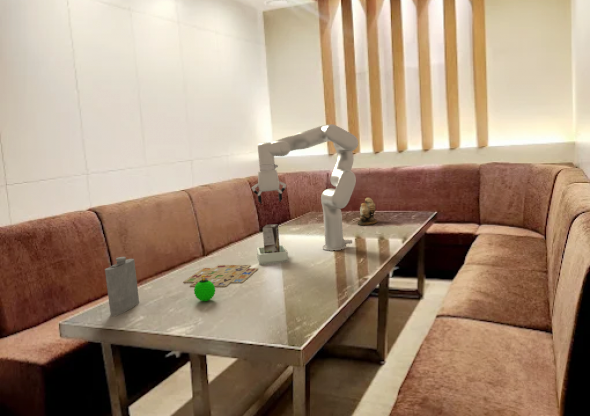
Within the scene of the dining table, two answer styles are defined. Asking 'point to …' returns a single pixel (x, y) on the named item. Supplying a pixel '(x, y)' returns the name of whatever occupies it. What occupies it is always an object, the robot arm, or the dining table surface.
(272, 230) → the coffee box
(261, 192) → the robot arm
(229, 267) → the alphabet tiles
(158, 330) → the dining table surface
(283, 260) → the bin
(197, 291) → the ornament
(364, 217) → the owl figurine
